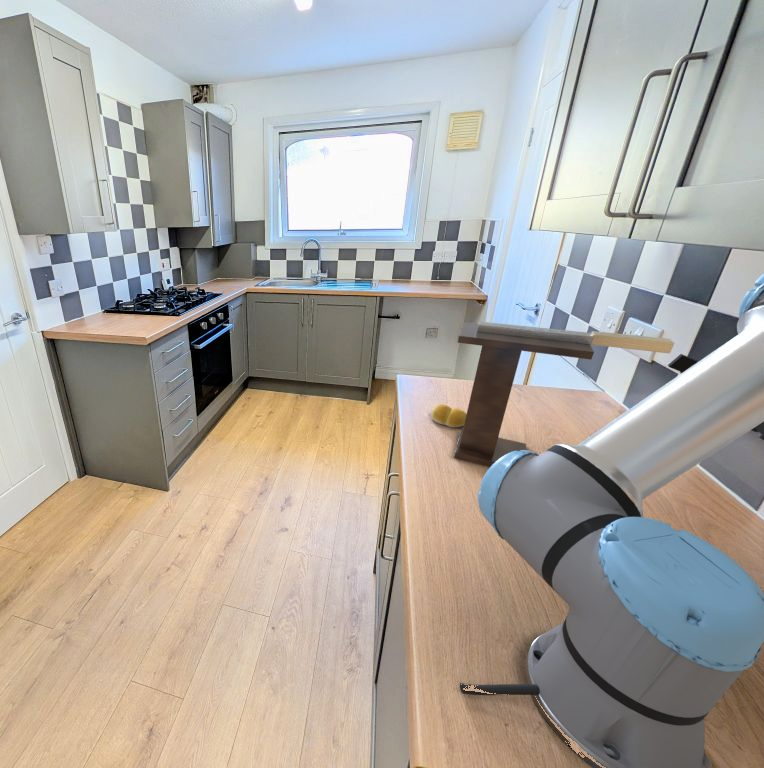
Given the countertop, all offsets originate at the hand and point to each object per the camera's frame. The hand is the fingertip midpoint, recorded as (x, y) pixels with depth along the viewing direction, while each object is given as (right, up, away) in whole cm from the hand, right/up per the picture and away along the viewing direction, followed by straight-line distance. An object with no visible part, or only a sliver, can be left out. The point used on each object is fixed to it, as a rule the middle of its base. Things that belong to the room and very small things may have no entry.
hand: (688, 378), depth 67 cm
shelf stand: (-19, -17, +25) cm, 36 cm away
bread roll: (-22, -11, +40) cm, 47 cm away
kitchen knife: (-14, +8, +10) cm, 18 cm away
